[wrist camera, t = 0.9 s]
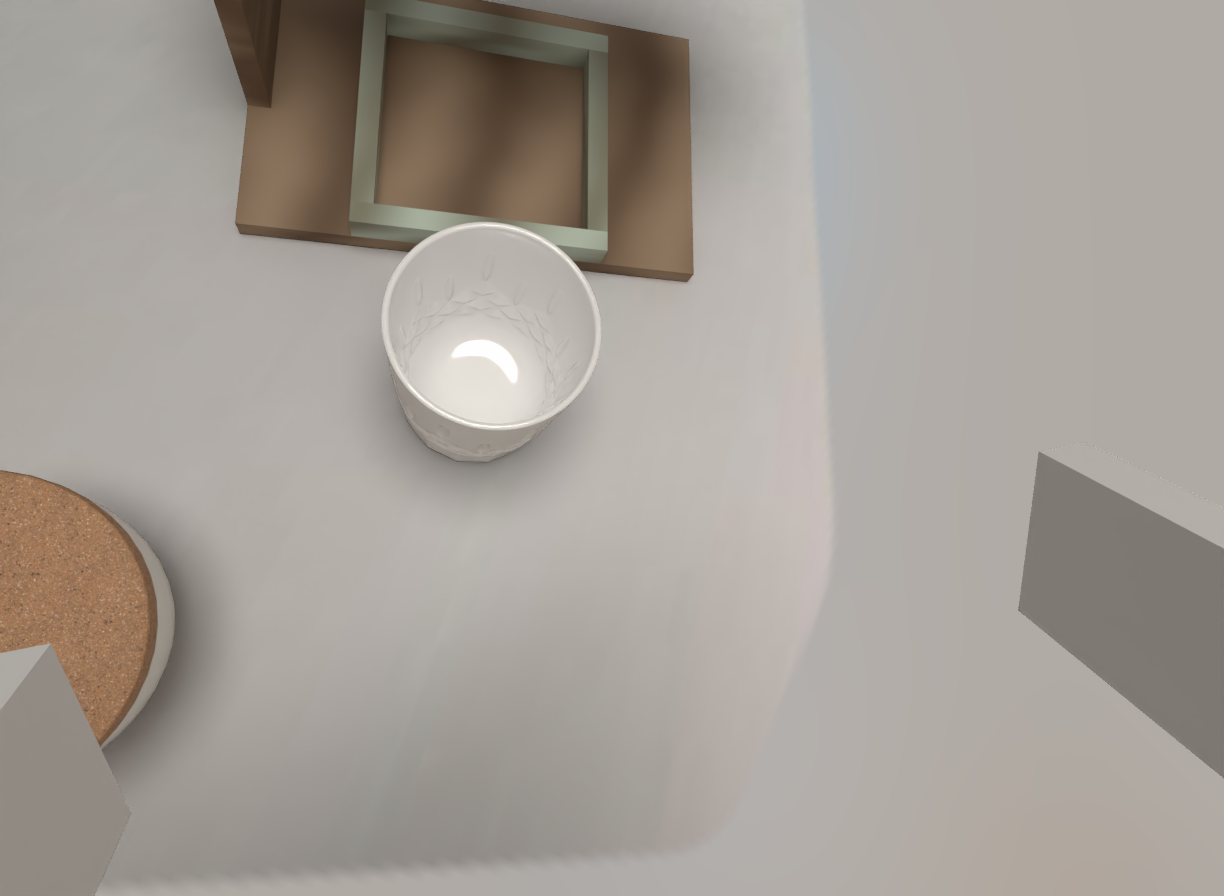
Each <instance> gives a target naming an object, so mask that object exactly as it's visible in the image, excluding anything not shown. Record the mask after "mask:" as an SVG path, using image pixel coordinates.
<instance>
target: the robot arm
mask: <svg viewBox="0 0 1224 896" xmlns="http://www.w3.org/2000/svg"><path fill="white" fill-rule="evenodd" d="M1018 610H1019V611H1020V612H1021V613H1022V614H1023V615H1025V616H1026V617H1027V618H1028V619H1029V620H1031V621H1032V622H1033V623H1034V624H1036V625H1037V626H1038V627H1039V628H1040V629H1042V630H1043V631H1044V632H1045V633H1047V634H1048V635H1049V636H1050V637H1052V638H1053V639H1054V640H1055V641H1056V642H1058V643H1059V644H1060V645H1061V646H1063V647H1064V648H1065V649H1066V650H1068V651H1069V652H1070V653H1071V654H1072V655H1074V656H1075V657H1076V658H1077V659H1078V660H1080V661H1081V662H1082V663H1083V664H1085V665H1086V666H1087V667H1088V668H1090V669H1091V670H1092V671H1093V672H1094V673H1096V674H1097V675H1098V676H1099V677H1101V678H1102V679H1103V680H1104V681H1105V682H1107V683H1108V684H1109V685H1110V686H1111V687H1113V688H1114V689H1115V690H1116V691H1118V692H1119V693H1120V694H1121V695H1123V696H1124V697H1125V698H1126V699H1127V700H1129V701H1130V702H1131V703H1132V704H1134V705H1135V706H1136V707H1137V708H1138V709H1140V710H1141V711H1142V712H1143V713H1145V714H1146V715H1147V716H1148V717H1149V718H1151V719H1152V720H1153V721H1154V722H1156V723H1157V724H1158V725H1159V726H1160V727H1162V728H1163V729H1164V730H1165V731H1167V732H1168V733H1169V734H1170V735H1172V736H1173V737H1174V738H1175V739H1176V740H1178V741H1179V742H1180V743H1181V744H1182V745H1184V746H1185V747H1186V748H1187V749H1189V750H1190V751H1191V752H1192V753H1193V754H1195V755H1196V756H1197V757H1198V758H1200V759H1201V760H1202V761H1203V762H1204V763H1206V764H1207V765H1208V766H1209V767H1211V768H1212V769H1213V770H1214V771H1215V772H1217V773H1218V774H1219V775H1220V776H1222V777H1223V778H1224V508H1223V507H1221V506H1219V505H1217V504H1214V503H1212V502H1211V501H1208V500H1206V499H1204V498H1202V497H1200V496H1198V495H1196V494H1194V493H1191V492H1190V491H1187V490H1185V489H1183V488H1181V487H1179V486H1177V485H1175V484H1173V483H1171V482H1168V481H1166V480H1164V479H1162V478H1160V477H1158V476H1156V475H1154V474H1151V473H1149V472H1147V471H1145V470H1143V469H1141V468H1139V467H1137V466H1135V465H1133V464H1131V463H1128V462H1126V461H1124V460H1122V459H1120V458H1118V457H1116V456H1114V455H1111V454H1109V453H1107V452H1105V451H1103V450H1101V449H1099V448H1097V447H1095V446H1092V445H1090V444H1088V443H1086V442H1085V443H1079V444H1075V445H1069V446H1064V447H1059V448H1053V449H1048V450H1044V451H1039V454H1038V462H1037V469H1036V477H1035V485H1034V493H1033V501H1032V508H1031V516H1030V524H1029V532H1028V539H1027V548H1026V555H1025V563H1024V570H1023V578H1022V586H1021V594H1020V601H1019V609H1018ZM130 815H131V812H130V809H129V807H128V805H127V803H126V801H125V799H124V797H123V795H122V792H121V790H120V788H119V786H118V784H117V782H116V780H115V778H114V776H113V773H112V771H111V769H110V767H109V765H108V763H107V761H106V759H105V757H104V754H103V752H102V750H101V748H100V746H99V744H98V742H97V740H96V738H95V735H94V733H93V731H92V729H91V727H90V725H89V723H88V721H87V718H86V716H85V714H84V712H83V710H82V708H81V706H80V704H79V702H78V699H77V697H76V695H75V693H74V691H73V689H72V687H71V685H70V683H69V680H68V678H67V676H66V674H65V672H64V670H63V668H62V666H61V664H60V661H59V659H58V657H57V655H56V653H55V651H54V649H53V647H52V644H51V643H50V644H45V645H39V646H34V647H29V648H24V649H19V650H14V651H8V652H3V653H0V896H95V893H96V891H97V889H98V887H99V884H100V882H101V880H102V878H103V875H104V873H105V871H106V869H107V866H108V864H109V862H110V860H111V858H112V855H113V853H114V851H115V849H116V846H117V844H118V842H119V840H120V837H121V835H122V833H123V831H124V828H125V826H126V824H127V822H128V819H129V817H130Z"/></svg>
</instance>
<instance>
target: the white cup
mask: <svg viewBox="0 0 1224 896" xmlns="http://www.w3.org/2000/svg"><path fill="white" fill-rule="evenodd" d="M381 329H382V337H383V342H384V346H385V350H386V354H387V358H388V362H389V366H390V371H391V376H392V380H393V383H394V386H395V389H396V392H397V395H398V398H399V401H400V403H401V406H402V408H403V410H404V412H405V414H406V419H407V422H408V423H409V424H410V425H411V427H412V428H413V429H414V430H415V432H416V433H417V434H418V436H419V437H420V438H421V439H422V441H423V442H424V443H425V444H426V446H427V447H429V448H431V449H433V450H435V451H437V452H439V453H441V454H443V455H445V456H447V457H449V458H452V459H454V460H456V461H474V462H490V461H492V460H495V459H497V458H499V457H501V456H503V455H506V454H508V453H510V452H512V451H515V450H517V449H519V448H520V447H521V446H522V445H523V444H525V443H526V442H528V441H529V440H530V439H532V438H533V437H534V436H535V435H536V434H538V433H539V432H540V431H542V430H543V429H544V428H545V427H546V426H547V425H548V424H549V423H550V422H551V421H552V420H553V419H554V418H555V417H556V416H557V415H558V414H559V413H560V412H562V411H563V410H564V409H565V408H566V407H567V406H568V405H569V404H570V403H571V402H572V401H573V400H574V399H575V398H576V397H577V396H578V395H579V394H580V392H581V391H582V390H583V389H584V387H585V386H586V384H587V383H588V381H589V379H590V377H591V375H592V373H593V371H594V369H595V366H596V363H597V360H598V356H599V352H600V346H601V319H600V313H599V309H598V305H597V302H596V299H595V296H594V293H593V291H592V289H591V287H590V285H589V283H588V281H587V279H586V278H585V276H584V275H583V273H582V272H581V270H580V269H579V268H578V266H577V265H576V264H575V263H574V262H573V261H572V260H571V258H570V257H569V256H568V255H567V254H565V253H564V252H563V251H562V250H561V249H560V248H558V247H557V246H556V245H554V244H553V243H552V242H550V241H548V240H547V239H545V238H543V237H542V236H540V235H538V234H536V233H534V232H531V231H529V230H526V229H524V228H521V227H517V226H514V225H509V224H504V223H497V222H472V223H465V224H460V225H456V226H452V227H449V228H446V229H444V230H441V231H439V232H437V233H435V234H433V235H431V236H429V237H428V238H426V239H424V240H423V241H422V242H420V243H419V244H418V245H416V246H415V247H414V248H413V249H412V250H411V251H410V252H409V253H408V254H407V255H406V256H405V257H404V258H403V259H402V261H401V262H400V263H399V265H398V266H397V268H396V269H395V271H394V273H393V274H392V276H391V278H390V280H389V283H388V285H387V288H386V291H385V294H384V298H383V303H382V311H381Z"/></svg>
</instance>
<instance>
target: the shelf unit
mask: <svg viewBox="0 0 1224 896" xmlns="http://www.w3.org/2000/svg"><path fill="white" fill-rule="evenodd" d="M214 2H215V5H216V8H217V11H218V14H219V17H220V20H221V23H222V27H223V30H224V33H225V36H226V39H227V42H228V45H229V48H230V51H231V54H232V57H233V60H234V64H235V67H236V70H237V73H238V76H239V79H240V82H241V85H242V88H243V91H244V94H245V98H246V101H247V104H248V109H247V118H246V128H245V137H244V146H243V156H242V165H241V175H240V184H239V193H238V203H237V212H236V222H235V223H236V226H237V228H238V230H239V232H240V233H243V234H252V235H262V236H271V237H280V238H289V239H298V240H308V241H317V242H326V243H335V244H344V245H354V246H363V247H372V248H381V249H390V250H400V251H409V252H410V251H411V250H412V249H413V248H414V247H415V246H416V245H418V244H419V243H420V242H422V241H423V240H424V239H426V238H428V237H429V236H431V235H433V234H435V233H437V232H439V231H441V230H444V229H446V228H449V227H452V226H456V225H460V224H465V223H472V222H497V223H504V224H509V225H514V226H517V227H521V228H524V229H526V230H529V231H531V232H534V233H536V234H538V235H540V236H542V237H543V238H545V239H547V240H548V241H550V242H552V243H553V244H554V245H556V246H557V247H558V248H560V249H561V250H562V251H563V252H564V253H565V254H567V255H568V256H569V257H570V258H571V260H572V261H573V262H574V263H575V264H576V265H577V266H578V268H579V269H580V270H584V271H593V272H602V273H611V274H621V275H630V276H639V277H648V278H657V279H667V280H676V281H685V282H687V281H688V280H689V279H690V278H691V276H692V275H693V227H692V180H691V133H690V86H689V39H683V38H678V37H673V36H667V35H662V34H657V33H652V32H646V31H641V30H636V29H630V28H625V27H620V26H615V25H609V24H604V23H599V22H593V21H588V20H583V19H578V18H572V17H567V16H562V15H556V14H551V13H546V12H541V11H535V10H530V9H525V8H519V7H514V6H509V5H503V4H498V3H493V2H488V1H482V0H214Z"/></svg>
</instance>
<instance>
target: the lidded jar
mask: <svg viewBox="0 0 1224 896" xmlns="http://www.w3.org/2000/svg"><path fill="white" fill-rule="evenodd" d="M174 630H175V609H174V600H173V596H172V592H171V587H170V583H169V581H168V579H167V577H166V574H165V572H164V570H163V567H162V565H161V563H160V561H159V560H158V558H157V557H156V555H155V554H154V552H153V551H152V549H151V548H150V546H149V545H148V543H147V542H146V541H145V540H144V539H143V538H142V537H141V536H140V535H139V534H138V533H137V532H136V531H135V530H134V529H133V528H132V527H131V526H129V525H128V524H127V523H125V522H124V521H123V520H121V519H120V518H119V517H117V516H116V515H115V514H113V513H112V512H111V511H109V510H107V509H105V508H103V507H101V506H100V505H98V504H96V503H94V502H92V501H91V500H89V499H87V498H85V497H84V496H82V495H80V494H78V493H76V492H74V491H72V490H70V489H68V488H66V487H64V486H61V485H58V484H55V483H52V482H49V481H46V480H43V479H40V478H37V477H34V476H31V475H25V474H19V473H14V472H8V471H3V470H0V653H3V652H8V651H14V650H19V649H24V648H29V647H34V646H39V645H45V644H50V643H51V644H52V647H53V649H54V651H55V653H56V655H57V657H58V659H59V661H60V664H61V666H62V668H63V670H64V672H65V674H66V676H67V678H68V680H69V683H70V685H71V687H72V689H73V691H74V693H75V695H76V697H77V699H78V702H79V704H80V706H81V708H82V710H83V712H84V714H85V716H86V718H87V721H88V723H89V725H90V727H91V729H92V731H93V733H94V735H95V738H96V740H97V742H98V744H99V746H100V748H101V750H102V749H103V748H104V747H105V746H106V745H108V744H109V743H110V742H111V741H112V740H113V739H114V738H116V737H117V736H118V735H119V734H120V733H121V732H122V731H123V730H124V729H125V728H126V727H127V726H128V725H129V724H130V723H131V722H132V720H133V719H134V718H135V717H136V716H137V715H138V714H139V712H140V711H141V710H142V709H143V707H144V706H145V704H146V703H147V701H148V700H149V698H150V697H151V695H152V694H153V692H154V691H155V689H156V687H157V685H158V683H159V681H160V678H161V676H162V674H163V672H164V670H165V668H166V665H167V663H168V659H169V656H170V652H171V649H172V645H173V638H174Z"/></svg>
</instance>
